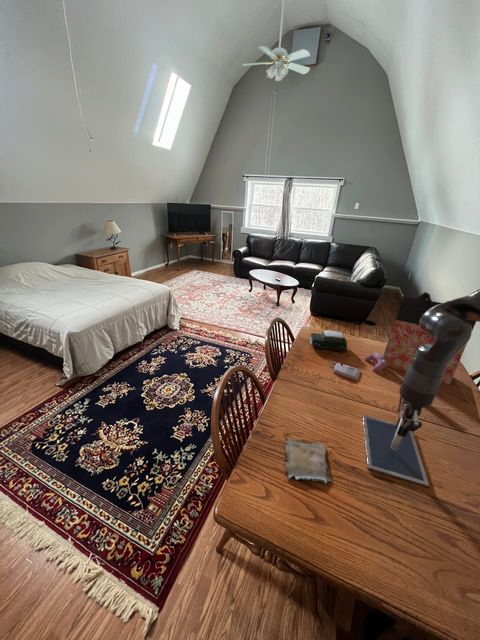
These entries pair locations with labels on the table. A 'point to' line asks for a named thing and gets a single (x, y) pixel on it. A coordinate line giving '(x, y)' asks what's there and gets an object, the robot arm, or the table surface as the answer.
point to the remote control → (346, 370)
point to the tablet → (392, 452)
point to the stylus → (396, 439)
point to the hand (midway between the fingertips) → (400, 432)
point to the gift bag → (414, 336)
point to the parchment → (306, 461)
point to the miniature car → (329, 340)
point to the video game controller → (377, 361)
